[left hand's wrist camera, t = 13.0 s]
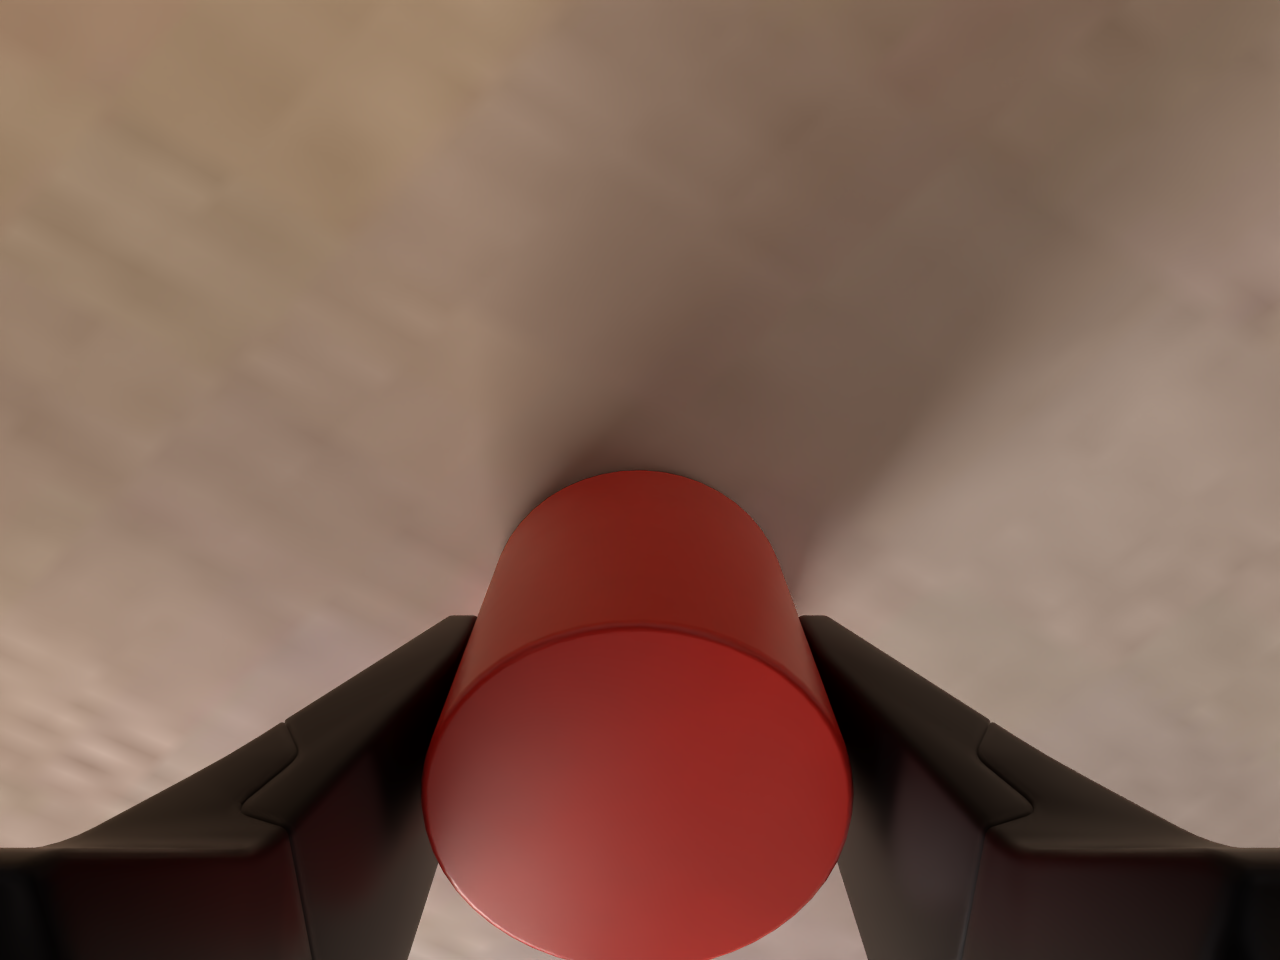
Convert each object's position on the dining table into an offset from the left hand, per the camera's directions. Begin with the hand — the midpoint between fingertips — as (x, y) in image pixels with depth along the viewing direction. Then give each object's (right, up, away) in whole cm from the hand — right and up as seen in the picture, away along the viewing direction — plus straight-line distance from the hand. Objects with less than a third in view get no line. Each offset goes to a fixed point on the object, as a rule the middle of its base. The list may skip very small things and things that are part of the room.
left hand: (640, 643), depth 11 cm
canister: (0, 0, +1) cm, 1 cm away
